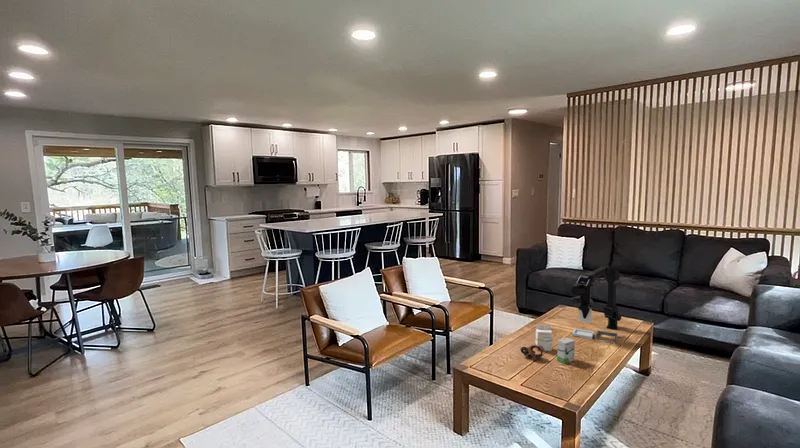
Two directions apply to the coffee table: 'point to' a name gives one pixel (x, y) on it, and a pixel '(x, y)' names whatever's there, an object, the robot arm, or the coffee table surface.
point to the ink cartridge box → (543, 337)
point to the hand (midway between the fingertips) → (585, 317)
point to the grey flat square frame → (606, 334)
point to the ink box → (566, 350)
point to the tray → (583, 333)
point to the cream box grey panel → (588, 318)
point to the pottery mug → (532, 352)
